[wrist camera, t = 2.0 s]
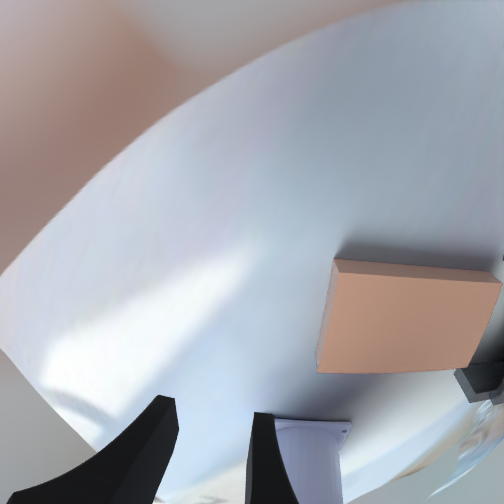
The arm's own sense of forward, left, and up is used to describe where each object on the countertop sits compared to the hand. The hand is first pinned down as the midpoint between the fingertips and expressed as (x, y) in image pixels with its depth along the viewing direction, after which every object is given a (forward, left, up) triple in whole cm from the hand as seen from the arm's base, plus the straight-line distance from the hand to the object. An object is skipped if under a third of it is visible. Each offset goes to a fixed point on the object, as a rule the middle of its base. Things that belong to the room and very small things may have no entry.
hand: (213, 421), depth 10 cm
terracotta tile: (0, -11, -10) cm, 15 cm away
